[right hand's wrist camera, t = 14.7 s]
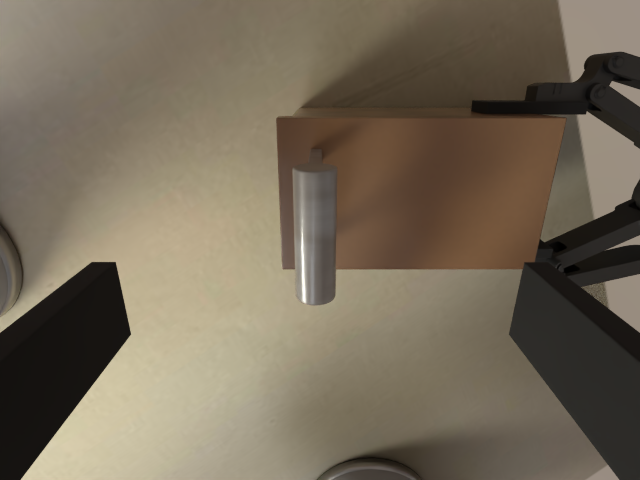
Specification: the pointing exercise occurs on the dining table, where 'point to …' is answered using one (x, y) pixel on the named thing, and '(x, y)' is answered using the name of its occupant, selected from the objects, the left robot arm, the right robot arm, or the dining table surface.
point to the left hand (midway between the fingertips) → (468, 181)
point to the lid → (411, 193)
